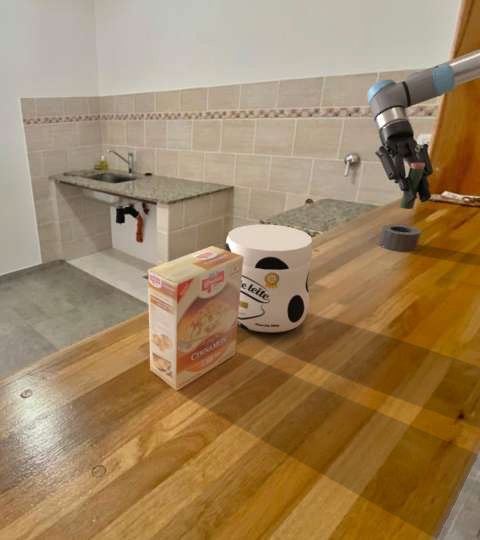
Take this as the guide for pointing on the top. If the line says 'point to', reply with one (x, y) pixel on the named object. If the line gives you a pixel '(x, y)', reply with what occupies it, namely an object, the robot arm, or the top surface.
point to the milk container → (272, 276)
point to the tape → (399, 237)
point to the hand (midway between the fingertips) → (419, 199)
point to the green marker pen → (413, 182)
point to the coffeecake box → (193, 314)
